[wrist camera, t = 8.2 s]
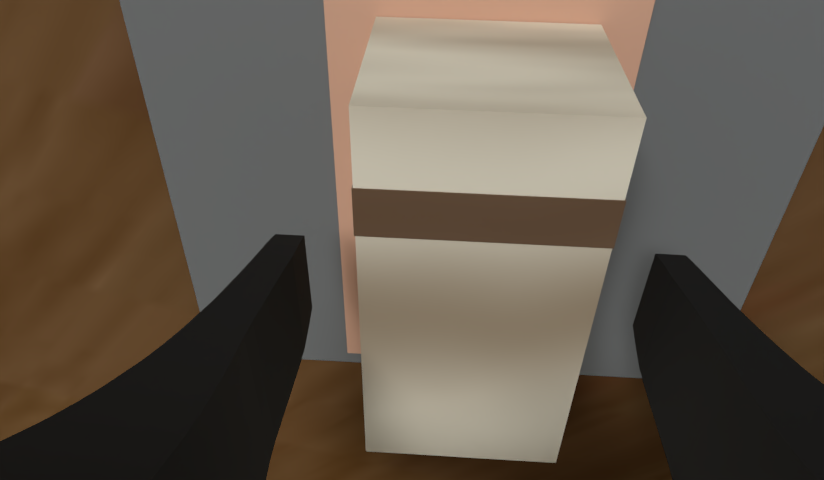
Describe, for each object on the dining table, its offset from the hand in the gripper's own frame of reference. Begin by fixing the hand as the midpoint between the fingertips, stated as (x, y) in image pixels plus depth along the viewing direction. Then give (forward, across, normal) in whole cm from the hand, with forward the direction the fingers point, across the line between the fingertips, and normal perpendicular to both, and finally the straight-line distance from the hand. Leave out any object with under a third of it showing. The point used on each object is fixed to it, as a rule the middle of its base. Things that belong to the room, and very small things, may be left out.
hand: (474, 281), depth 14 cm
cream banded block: (+3, 0, 0) cm, 3 cm away
